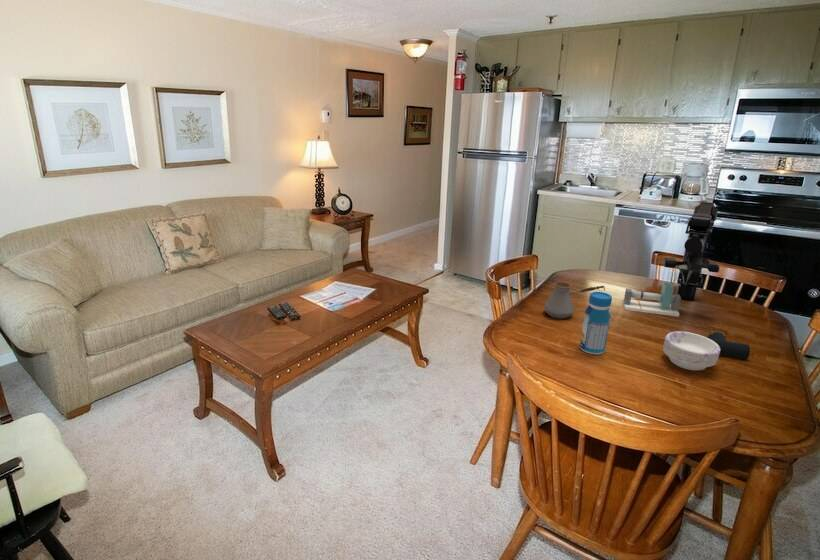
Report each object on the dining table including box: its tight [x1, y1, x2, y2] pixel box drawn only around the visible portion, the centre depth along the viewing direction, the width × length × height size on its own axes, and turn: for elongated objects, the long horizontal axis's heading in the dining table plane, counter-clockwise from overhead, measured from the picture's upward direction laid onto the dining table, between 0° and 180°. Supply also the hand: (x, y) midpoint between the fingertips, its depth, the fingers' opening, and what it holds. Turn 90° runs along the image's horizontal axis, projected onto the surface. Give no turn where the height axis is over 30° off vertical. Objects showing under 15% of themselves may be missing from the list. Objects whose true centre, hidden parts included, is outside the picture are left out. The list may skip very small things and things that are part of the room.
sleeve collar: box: [658, 281, 675, 308], centre depth 185 cm, size 3×6×9 cm, turn 161°
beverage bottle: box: [579, 291, 613, 355], centre depth 151 cm, size 8×8×20 cm
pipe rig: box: [622, 288, 682, 318], centre depth 188 cm, size 20×10×7 cm, turn 71°
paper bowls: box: [662, 331, 720, 371], centre depth 145 cm, size 15×15×8 cm
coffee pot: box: [544, 281, 606, 319], centre depth 177 cm, size 21×12×15 cm, turn 64°
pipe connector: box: [706, 329, 751, 360], centre depth 155 cm, size 12×5×15 cm
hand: (685, 285), depth 181 cm, fingers closed
